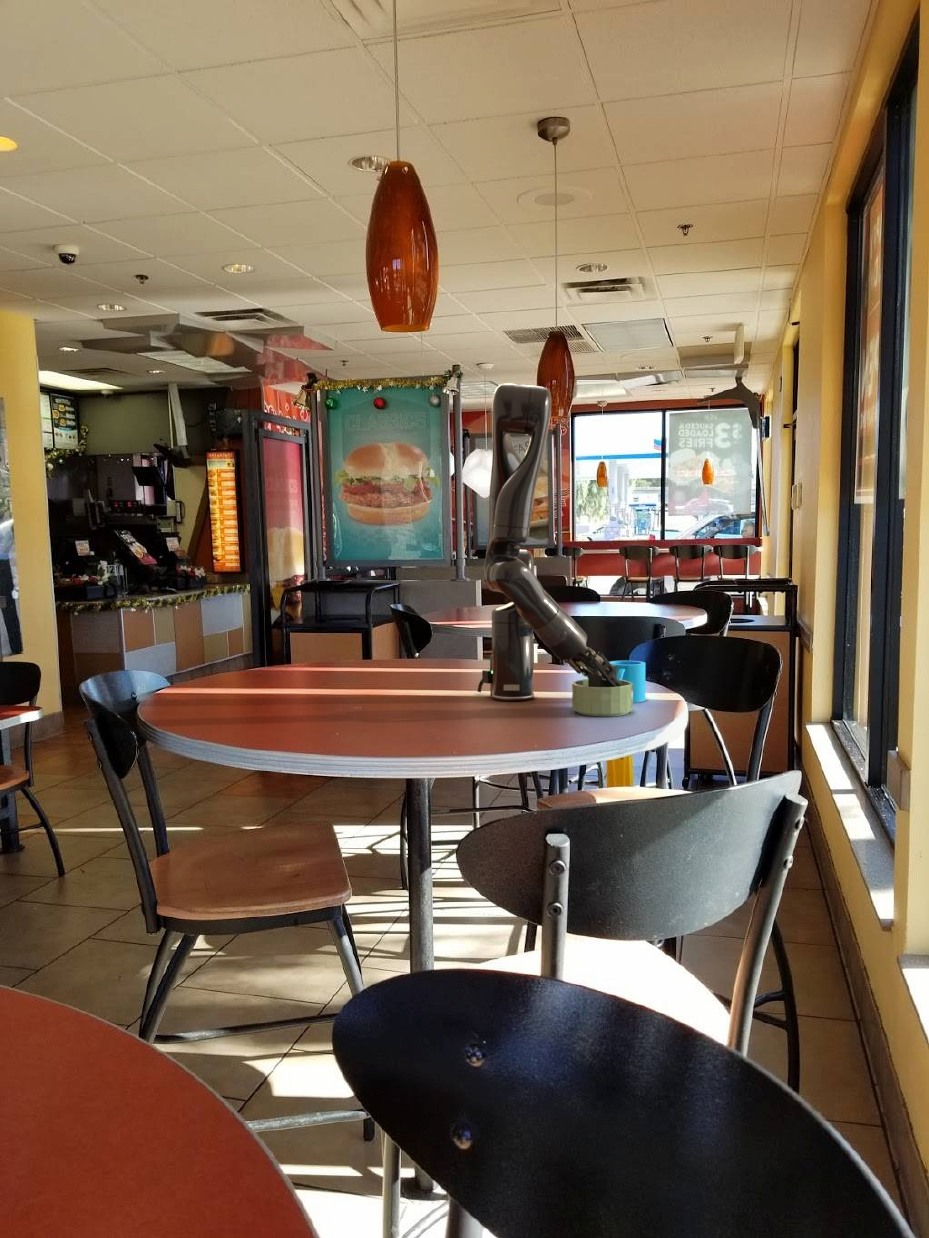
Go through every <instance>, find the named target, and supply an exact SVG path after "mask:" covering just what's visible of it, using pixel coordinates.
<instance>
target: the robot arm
mask: <svg viewBox="0 0 929 1238" xmlns="http://www.w3.org/2000/svg"><path fill="white" fill-rule="evenodd" d="M491 405H492V406H491V433H492V434H491V436H492V437H491V438H492V439H491V440H492V442H491V443H492V459H491V472H490V473H491V474H490V481H489V483H490V484H489V496H488V497H489V498H488V499H489V500H488V536H487V542H486V543H487V544H486V552H485V559H484V561H483V578H484V582H485V585H486V588H487V589H488V590H489V591H492V592H499V593H502V594H504V595H505V596H506V597H507V598H508V599H509V600H510V602H508V603H506V604H504V605H501V606H498V607H496V608H494V609H492V612H491V655H490V656H489V669H482V670H481V675H482V676H481V677H482V678H481V679H480V681H479V682H478V686H477V693H482V689H483V685H484V684H487V685H489V686H490V687H489V693H490V697H491V698H492V699H494V700H497V701H507V702H519V701H528V700H532V699H534V698H535V693H534V633H535V635H536V636H537V638H539V640H540V641H541V642H542V643H543V644H544V645H545V646H546V647H547V648H548V649H549V650H550V651H551V652H552V654H553V655H554V656H555V657H556V658H557V659H558V660H560V661H564V662H565V663H566V664H567V665H568V666H570V667H571V669H573V670H574V671H575V672H576V673H577V674H579V675H582V676H583V677H585V678H586V679H588V671H589V672H590V673H591V674H592V675H597V676H598V677H599V678H601V679H602V680H603V681H604V682H605V683H606V684H607V685H608V686H609V687H618V686H622V684H621V683H620V681H619V680H618V679H617V678H616V677H615V676H614V675H613V674H614V672H615V669H614V668H613V667H612V665H611V664H610V663H609V662H610V661H609V660H608V659H607V658H606V657H605V655H604V654H603V653H602V652H600V651H598V653H596V652H595V650H593V649H592V648H591V647H588V646H587V642H588V635H587V633H586V631H584V629H583V628H582V627H581V626H580V625H579V623H577V621H576V620H575V619H574V618H573V617H571V615H570V614H569V613H568V612H567V611H566V610H565V609H564V608H562V607H561V606H560V605H559V604H558V603H557V601H555V600H554V598H552V597H553V596H551V595H550V594H549V593H548V592H547V591H546V590H545V589H544V588H543V586H542V584H541V582H540V580H539V579H538V578H537V576H536V575H535V564H534V563H535V562H534V557H533V554H532V552H531V551H530V550H527V549H521V548H522V546H523V545H525V544H526V543H527V542H528V540H529V537H530V532H531V531H530V530H531V523H532V522H531V521H532V515H533V511H534V503H535V494H536V493H535V492H536V488H537V483H538V479H539V475H540V472H541V471H540V470H541V466H542V461H543V458H544V453H545V449H546V448H545V447H546V444H547V443H546V442H547V439H548V433H549V428H550V421H551V416H552V415H551V414H552V395H551V391H550V390H549V388H547V387H545V386H539V385H538V386H537V385H528V384H527V385H526V384H515V383H501V384H499V385H498V386H497V387H496V388H495V390H494V394H493V397H492V404H491ZM511 435H522V436H528V437H530V439H529V444H528V447H527V450H526V452H525V454H524V456H523V458H521V456H520V455H519V454H518V452H517V450H516V448H515V446H514V444H513V440H512V437H511ZM594 666H595V667H596V668H595V669H594V670H593V669H592V668H593V667H594ZM605 670H606V671H605ZM599 672H600V673H599Z"/></svg>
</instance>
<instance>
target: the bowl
mask: <svg viewBox="0 0 929 1238" xmlns="http://www.w3.org/2000/svg"><path fill="white" fill-rule="evenodd" d="M618 680H619V679H618ZM619 681H620V683H621V684H622V686H618V687H590V686H588V678H585V679H578V680H574V681H572V682H571V697H572V698H571V706H572V707H571V709H572V710H573V711H574V712H576V713H577V714H579V715H583V716H587V717H588V716H589V717H604V718H605V717H619V716H624V715H627V714H628V713H629V712H632V711H633V710H634V703H633V683H632V682H630V681H626V680H619Z"/></svg>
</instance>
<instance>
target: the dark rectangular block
mask: <svg viewBox="0 0 929 1238" xmlns="http://www.w3.org/2000/svg"><path fill="white" fill-rule="evenodd" d="M612 667H613V668H614V669H615V672H614V674H613V675H614V676H615V677H616V678H617V666H613V665H612ZM595 668H596V667H595V666H594V667H593V668H592V669H593V670H594V669H595ZM605 671H606V670H605ZM599 673H600V672H599ZM587 679H588V686H590V687H609V686H608V685H607V684H606V683H605V682H604V681H603V680H602V679H601V678H599V677H598V676H597V675H592V674H591V673H590V672H589V671H588V678H587Z"/></svg>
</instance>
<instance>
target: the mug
mask: <svg viewBox="0 0 929 1238" xmlns="http://www.w3.org/2000/svg"><path fill="white" fill-rule="evenodd" d="M608 662H609V663H610V664H611V665H613V666H617V679H619V680H626V681H630V682H632V683H633V704H634V703H642V702H643V703H644V702H645V701H646V662H645V661H642V660H641V661H639V660H612V661H608Z"/></svg>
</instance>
